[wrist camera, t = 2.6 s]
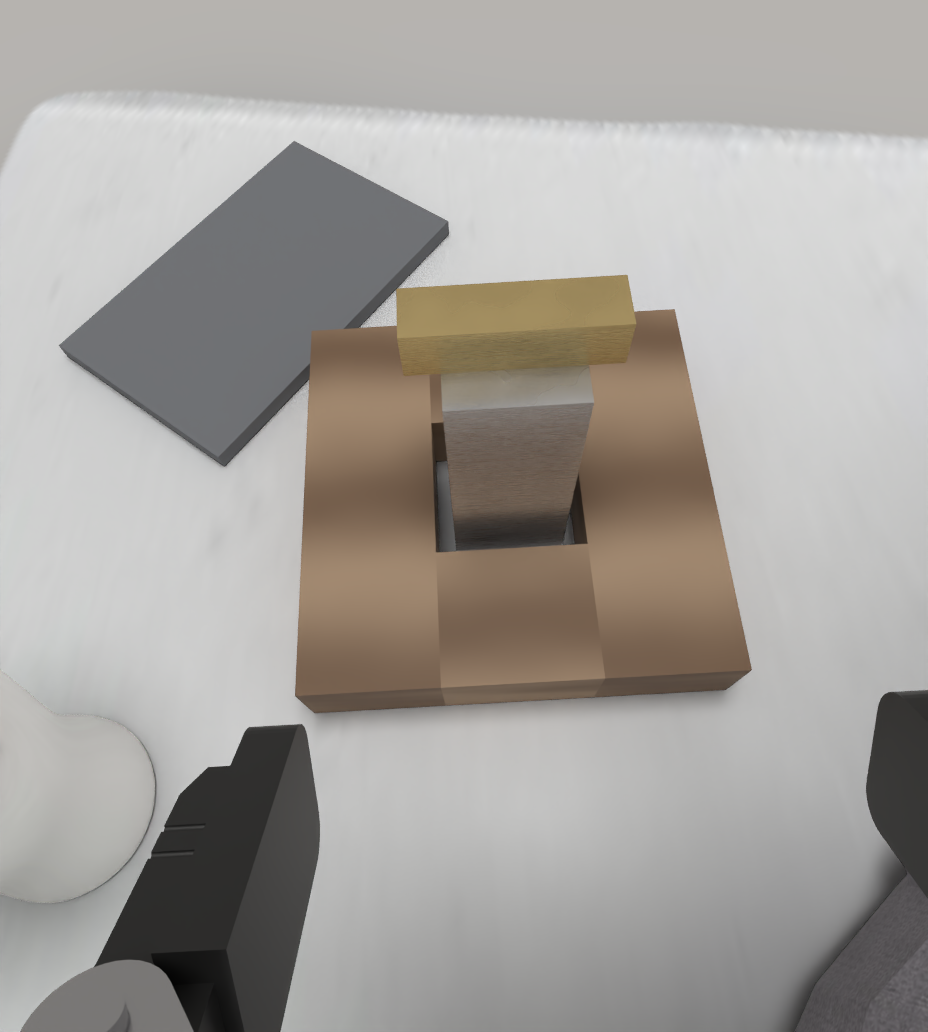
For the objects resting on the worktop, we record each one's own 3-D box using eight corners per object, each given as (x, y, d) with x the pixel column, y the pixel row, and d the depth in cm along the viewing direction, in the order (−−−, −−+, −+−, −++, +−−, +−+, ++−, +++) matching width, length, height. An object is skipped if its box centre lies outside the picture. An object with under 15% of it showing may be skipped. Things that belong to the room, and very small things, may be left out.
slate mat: (297, 154, 40) (294, 141, 39) (449, 234, 37) (448, 221, 36) (67, 356, 35) (58, 345, 34) (224, 466, 32) (218, 457, 31)
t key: (432, 565, 30) (397, 377, 18) (429, 476, 31) (396, 253, 20) (584, 556, 30) (643, 363, 18) (572, 468, 31) (621, 240, 20)
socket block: (325, 374, 34) (311, 330, 31) (659, 354, 34) (674, 309, 31) (314, 713, 27) (295, 695, 25) (725, 689, 27) (751, 670, 25)
